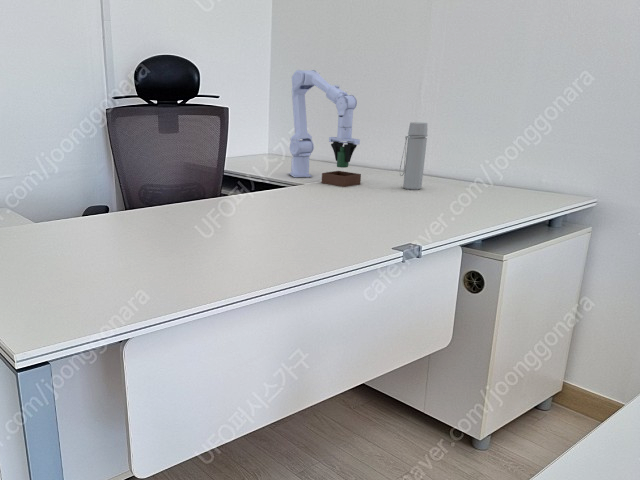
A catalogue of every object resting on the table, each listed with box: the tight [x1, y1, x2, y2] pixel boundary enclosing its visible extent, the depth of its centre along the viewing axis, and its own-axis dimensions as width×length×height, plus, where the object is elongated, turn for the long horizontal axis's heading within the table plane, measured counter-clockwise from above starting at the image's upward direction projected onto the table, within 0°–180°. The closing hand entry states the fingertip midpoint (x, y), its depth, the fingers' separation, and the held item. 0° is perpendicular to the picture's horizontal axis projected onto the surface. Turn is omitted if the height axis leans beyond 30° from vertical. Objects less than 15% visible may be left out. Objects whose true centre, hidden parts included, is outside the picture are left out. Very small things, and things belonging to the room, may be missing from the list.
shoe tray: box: [321, 170, 362, 188], centre depth 245 cm, size 12×10×4 cm
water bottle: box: [399, 121, 429, 191], centre depth 230 cm, size 9×8×25 cm
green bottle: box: [336, 146, 350, 169], centre depth 243 cm, size 5×5×8 cm
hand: (342, 161), depth 243 cm, fingers closed on green bottle, 4 cm apart
